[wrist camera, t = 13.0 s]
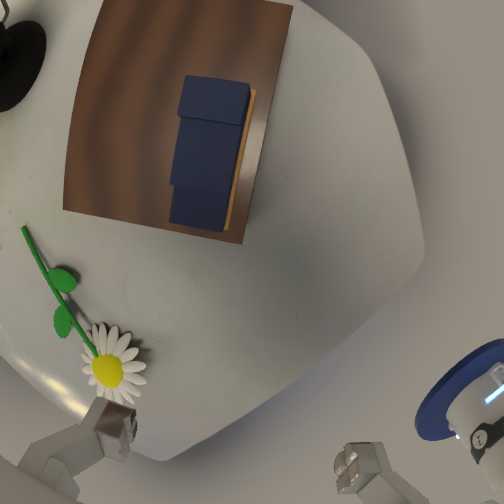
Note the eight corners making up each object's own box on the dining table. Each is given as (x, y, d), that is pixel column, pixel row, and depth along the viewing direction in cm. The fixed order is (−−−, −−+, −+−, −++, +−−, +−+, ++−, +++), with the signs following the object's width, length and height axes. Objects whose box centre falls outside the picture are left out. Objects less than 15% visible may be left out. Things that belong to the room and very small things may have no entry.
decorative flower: (16, 246, 37) (115, 399, 41) (-4, 252, 32) (103, 416, 36) (58, 200, 35) (170, 376, 39) (37, 202, 30) (160, 396, 35)
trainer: (198, 83, 22) (182, 67, 17) (256, 92, 22) (255, 77, 17) (174, 216, 26) (154, 233, 21) (228, 226, 26) (221, 247, 21)
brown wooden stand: (287, 30, 25) (293, 5, 19) (244, 226, 33) (241, 244, 27) (127, 18, 24) (104, -1, 18) (92, 198, 32) (62, 209, 26)
